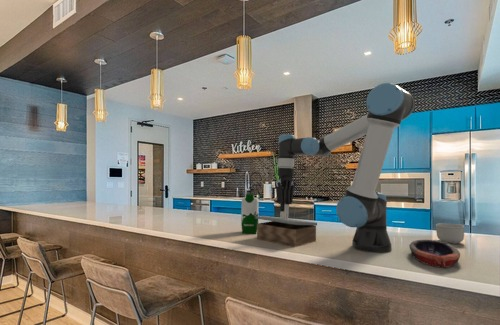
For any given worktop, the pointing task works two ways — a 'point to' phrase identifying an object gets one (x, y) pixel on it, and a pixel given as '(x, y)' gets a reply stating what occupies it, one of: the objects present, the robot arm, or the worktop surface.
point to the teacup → (450, 233)
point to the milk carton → (249, 214)
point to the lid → (286, 220)
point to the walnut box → (286, 233)
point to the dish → (435, 253)
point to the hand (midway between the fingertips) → (284, 218)
